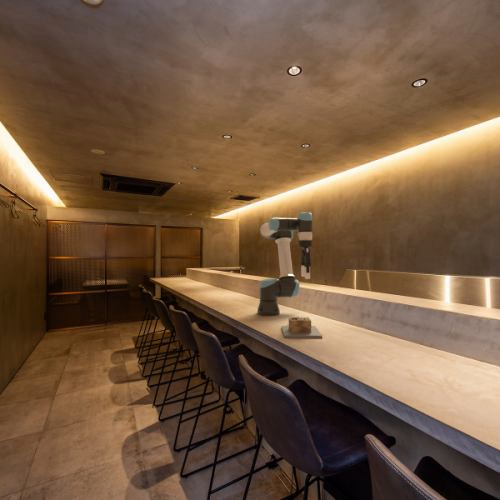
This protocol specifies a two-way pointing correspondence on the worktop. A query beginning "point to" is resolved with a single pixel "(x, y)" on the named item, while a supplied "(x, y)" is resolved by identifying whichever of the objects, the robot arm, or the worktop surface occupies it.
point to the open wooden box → (299, 324)
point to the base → (312, 334)
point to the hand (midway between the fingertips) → (305, 277)
